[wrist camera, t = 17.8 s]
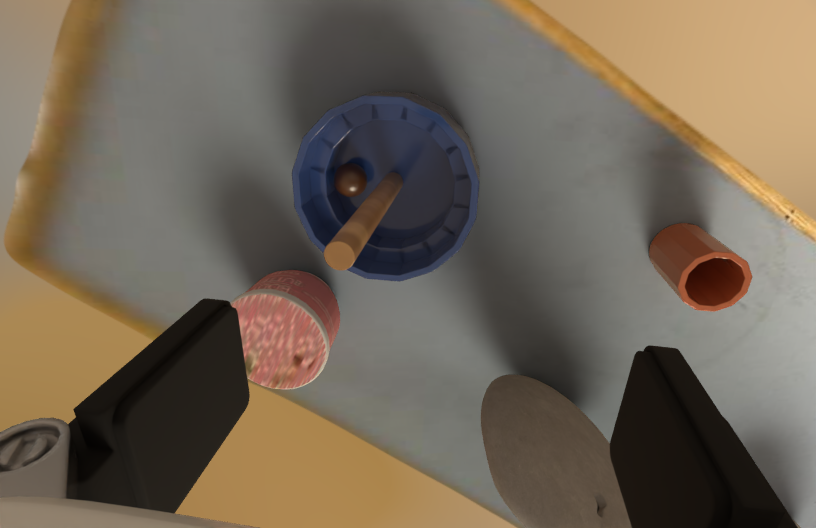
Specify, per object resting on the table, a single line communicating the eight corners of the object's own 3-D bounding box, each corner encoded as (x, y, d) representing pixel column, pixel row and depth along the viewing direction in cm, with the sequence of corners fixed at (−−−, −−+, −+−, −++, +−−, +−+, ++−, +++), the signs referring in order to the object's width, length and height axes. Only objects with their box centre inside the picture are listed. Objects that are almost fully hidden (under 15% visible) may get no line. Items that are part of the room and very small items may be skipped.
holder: (655, 221, 41) (688, 249, 35) (716, 224, 40) (760, 254, 34) (643, 272, 43) (671, 308, 37) (700, 276, 42) (739, 313, 36)
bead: (374, 166, 40) (359, 160, 43) (342, 166, 39) (329, 159, 41) (371, 200, 41) (357, 191, 44) (340, 201, 40) (327, 192, 42)
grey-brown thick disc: (461, 367, 50) (452, 523, 33) (507, 325, 47) (523, 473, 30) (583, 461, 53) (634, 651, 36) (634, 427, 50) (714, 616, 33)
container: (242, 315, 51) (203, 356, 44) (276, 239, 47) (238, 272, 40) (325, 359, 52) (300, 407, 45) (366, 289, 48) (345, 330, 40)
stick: (383, 171, 42) (322, 239, 26) (403, 172, 42) (354, 242, 25) (383, 191, 43) (324, 269, 26) (402, 192, 42) (355, 271, 26)
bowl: (311, 89, 41) (285, 92, 35) (485, 94, 39) (486, 99, 33) (320, 249, 47) (299, 273, 41) (471, 260, 45) (470, 287, 39)
